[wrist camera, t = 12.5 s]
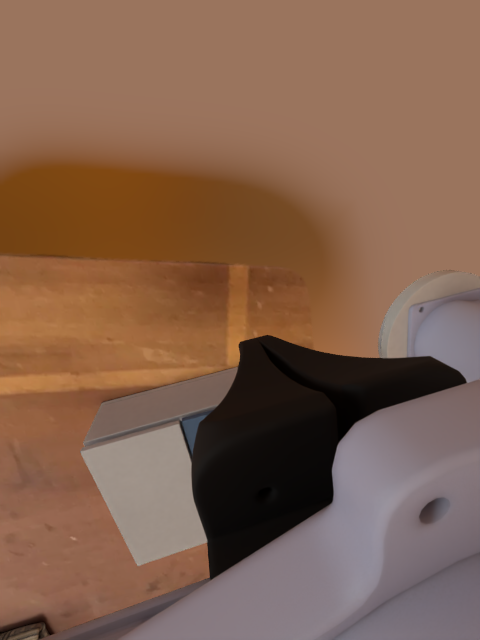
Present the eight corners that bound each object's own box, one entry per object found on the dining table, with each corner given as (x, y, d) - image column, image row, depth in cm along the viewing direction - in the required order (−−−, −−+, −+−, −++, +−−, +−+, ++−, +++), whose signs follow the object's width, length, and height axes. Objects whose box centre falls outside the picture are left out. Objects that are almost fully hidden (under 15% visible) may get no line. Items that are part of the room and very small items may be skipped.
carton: (254, 362, 24) (272, 396, 19) (272, 463, 28) (292, 513, 23) (101, 402, 22) (78, 451, 17) (145, 503, 26) (136, 567, 21)
